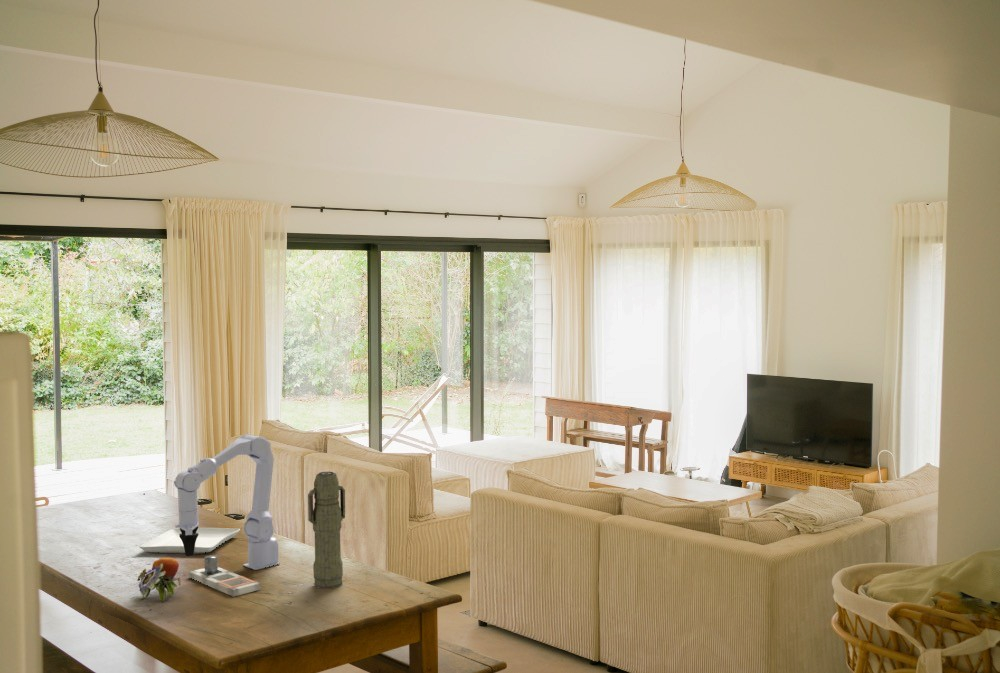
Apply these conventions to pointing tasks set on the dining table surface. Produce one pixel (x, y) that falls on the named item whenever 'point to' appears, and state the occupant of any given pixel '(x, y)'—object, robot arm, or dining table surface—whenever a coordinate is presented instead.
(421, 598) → the dining table surface
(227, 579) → the hole rail
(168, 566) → the fruit
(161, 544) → the square plate
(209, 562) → the metal peg
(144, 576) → the passion flower
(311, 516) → the thermos
